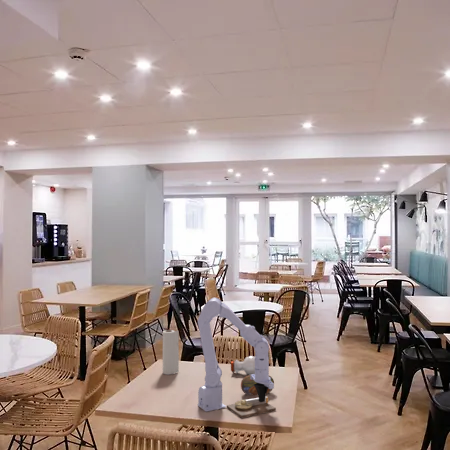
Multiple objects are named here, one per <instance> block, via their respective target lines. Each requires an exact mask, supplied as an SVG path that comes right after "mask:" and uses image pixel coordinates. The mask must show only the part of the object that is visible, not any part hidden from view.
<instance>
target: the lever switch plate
mask: <svg viewBox="0 0 450 450" xmlns="http://www.w3.org/2000/svg"><path fill="white" fill-rule="evenodd" d="M226 408H227V410H229V411H231V412H232V413H234V414H235V415H237V416H238V417H240V418H241V419H245V418H248V417H253V416H258V415H262V413H263V414H266V412H267V413H271V412H275V410H276V411H277V408H276V407H275V406H273V405H272V404H269V402H268V403H263V404H257V405H252V408H251V409H249V410H239V409H236V408H235V403H232V404H226Z"/></svg>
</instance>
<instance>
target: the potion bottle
mask: <svg viewBox="0 0 450 450" xmlns="http://www.w3.org/2000/svg"><path fill="white" fill-rule="evenodd" d="M230 371H231V373H232V374H234V373H236V374H238V373H239V372H241V371H243V372H244V373H245V374H246V375H247V376H248V375H251V374H255V355H254V356H253V355H249V356H246V357H245V358H244V359H243V361H239V360H238V359H235V360H232V361H230Z"/></svg>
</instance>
